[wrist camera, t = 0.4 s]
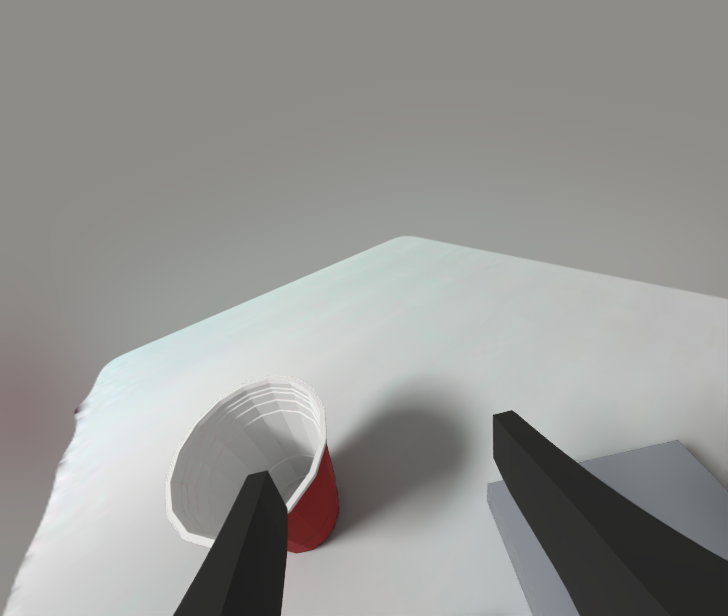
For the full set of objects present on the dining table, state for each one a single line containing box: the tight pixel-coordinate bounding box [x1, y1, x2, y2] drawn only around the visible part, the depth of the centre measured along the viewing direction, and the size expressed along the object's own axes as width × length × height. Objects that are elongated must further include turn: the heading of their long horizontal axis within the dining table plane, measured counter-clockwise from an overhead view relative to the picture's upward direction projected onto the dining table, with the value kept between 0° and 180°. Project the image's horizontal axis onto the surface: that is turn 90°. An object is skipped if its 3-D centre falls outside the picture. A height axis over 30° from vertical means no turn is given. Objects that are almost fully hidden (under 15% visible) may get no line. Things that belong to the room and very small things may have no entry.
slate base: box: [487, 440, 728, 616], centre depth 19 cm, size 14×14×3 cm
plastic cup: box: [165, 376, 339, 553], centre depth 24 cm, size 11×11×12 cm
